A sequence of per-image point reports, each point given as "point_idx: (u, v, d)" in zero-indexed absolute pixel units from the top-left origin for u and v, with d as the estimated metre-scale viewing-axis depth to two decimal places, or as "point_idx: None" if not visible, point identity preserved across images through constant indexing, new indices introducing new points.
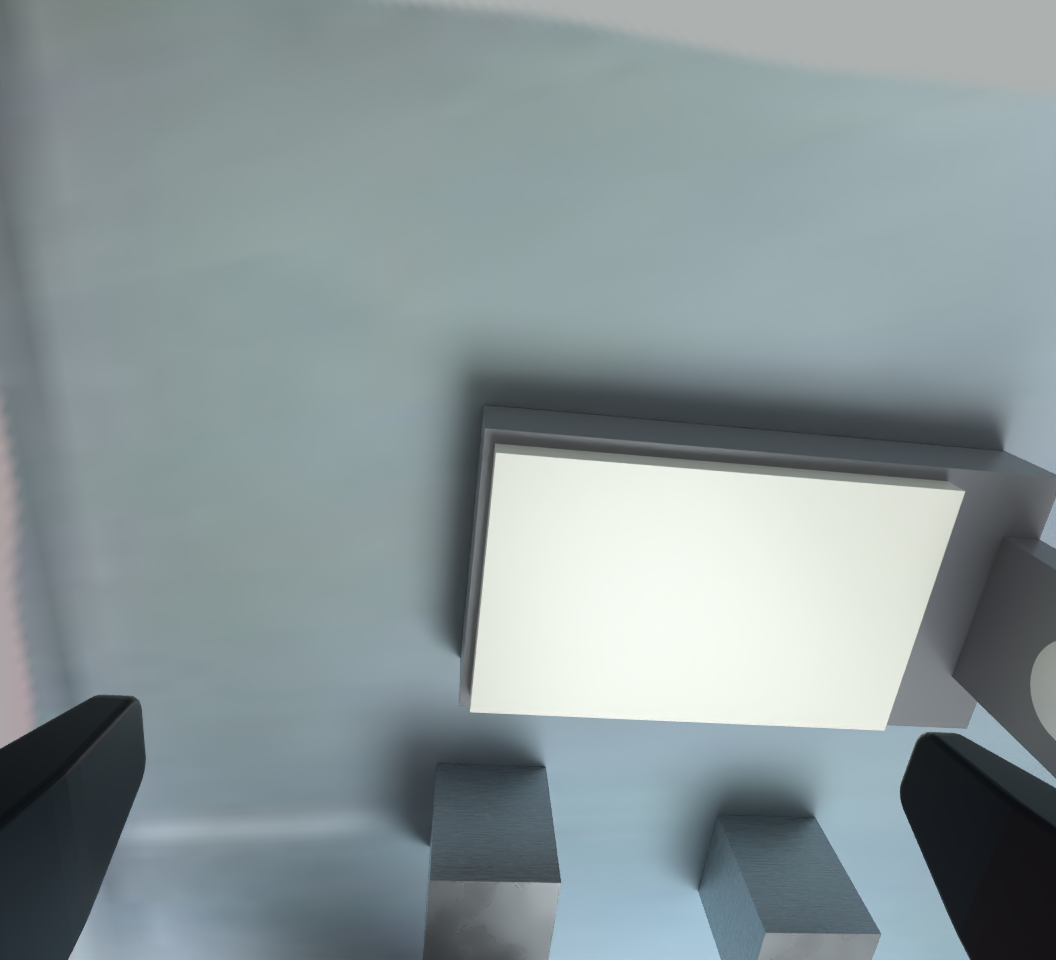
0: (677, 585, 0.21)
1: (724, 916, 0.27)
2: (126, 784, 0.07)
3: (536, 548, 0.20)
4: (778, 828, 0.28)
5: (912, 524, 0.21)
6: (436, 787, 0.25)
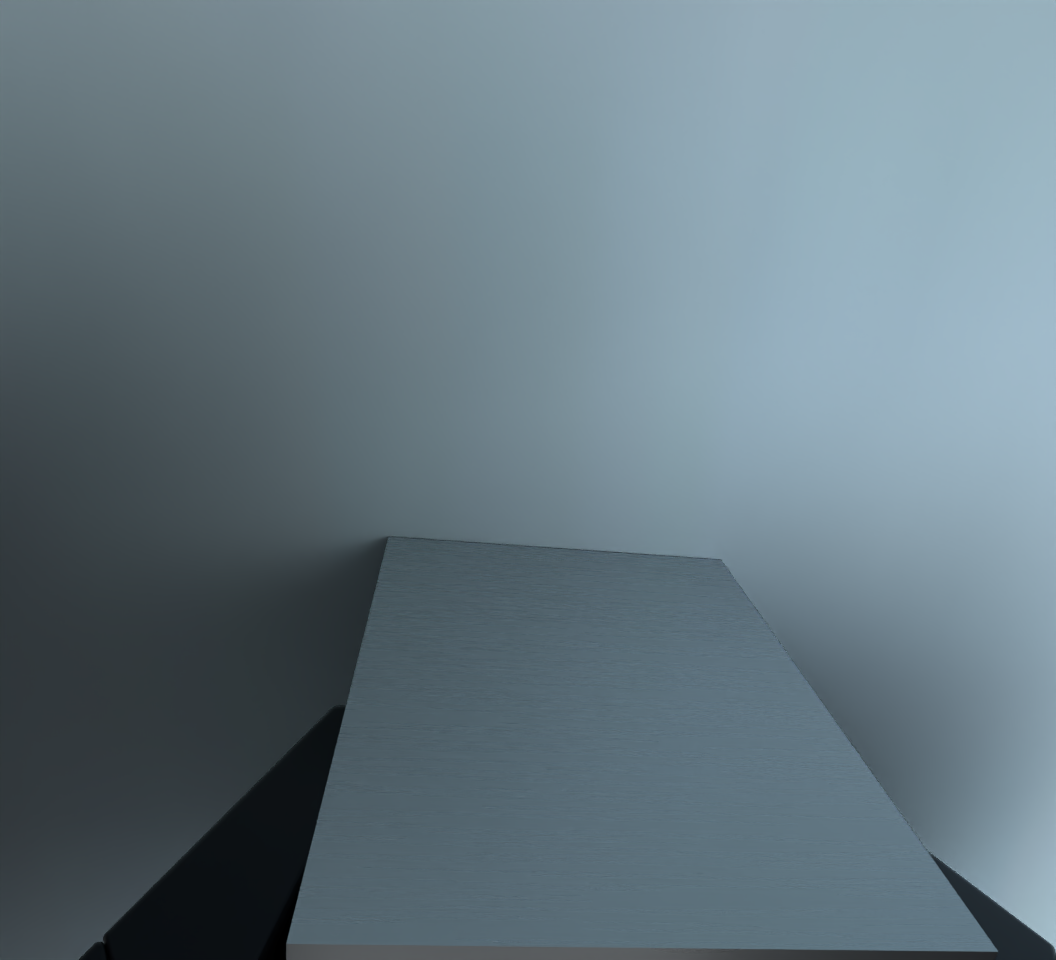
0: None
1: None
2: None
3: None
4: None
5: None
6: None
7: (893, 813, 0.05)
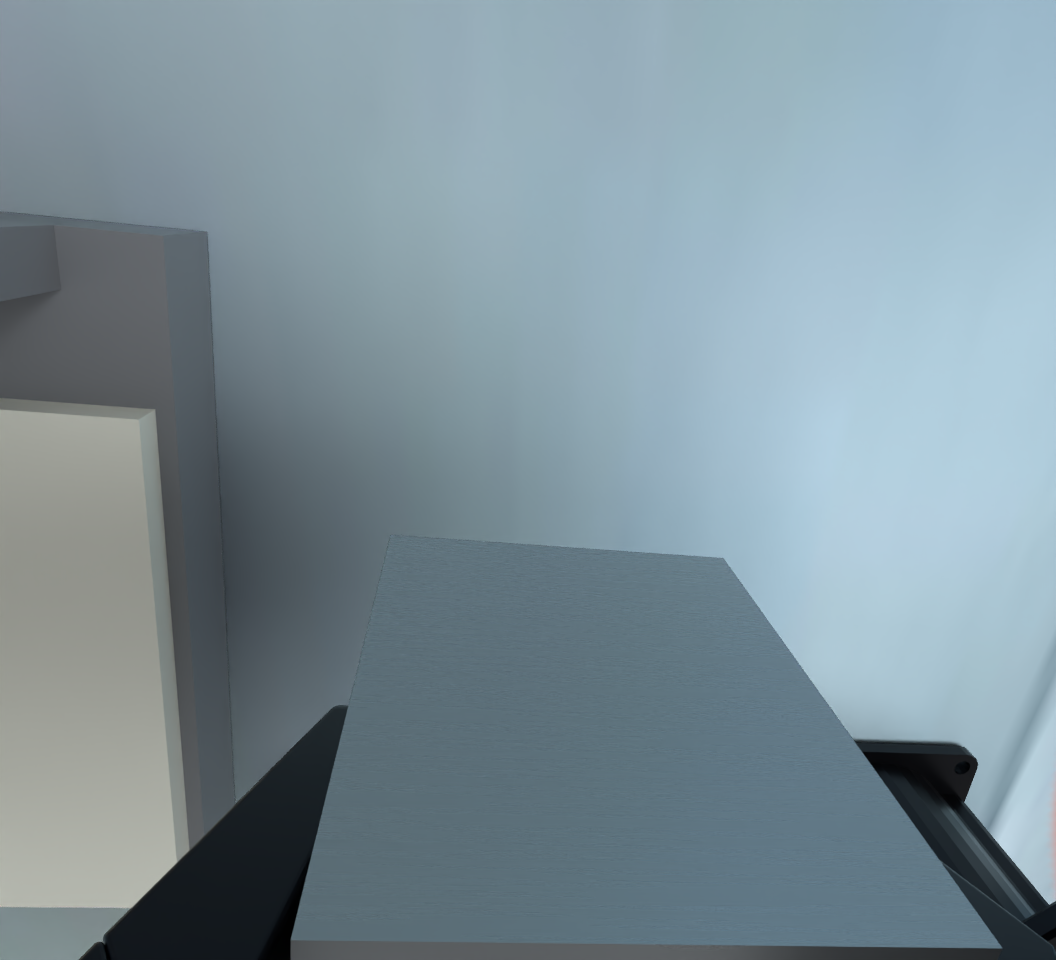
0: None
1: None
2: None
3: None
4: None
5: None
6: None
7: (897, 810, 0.05)
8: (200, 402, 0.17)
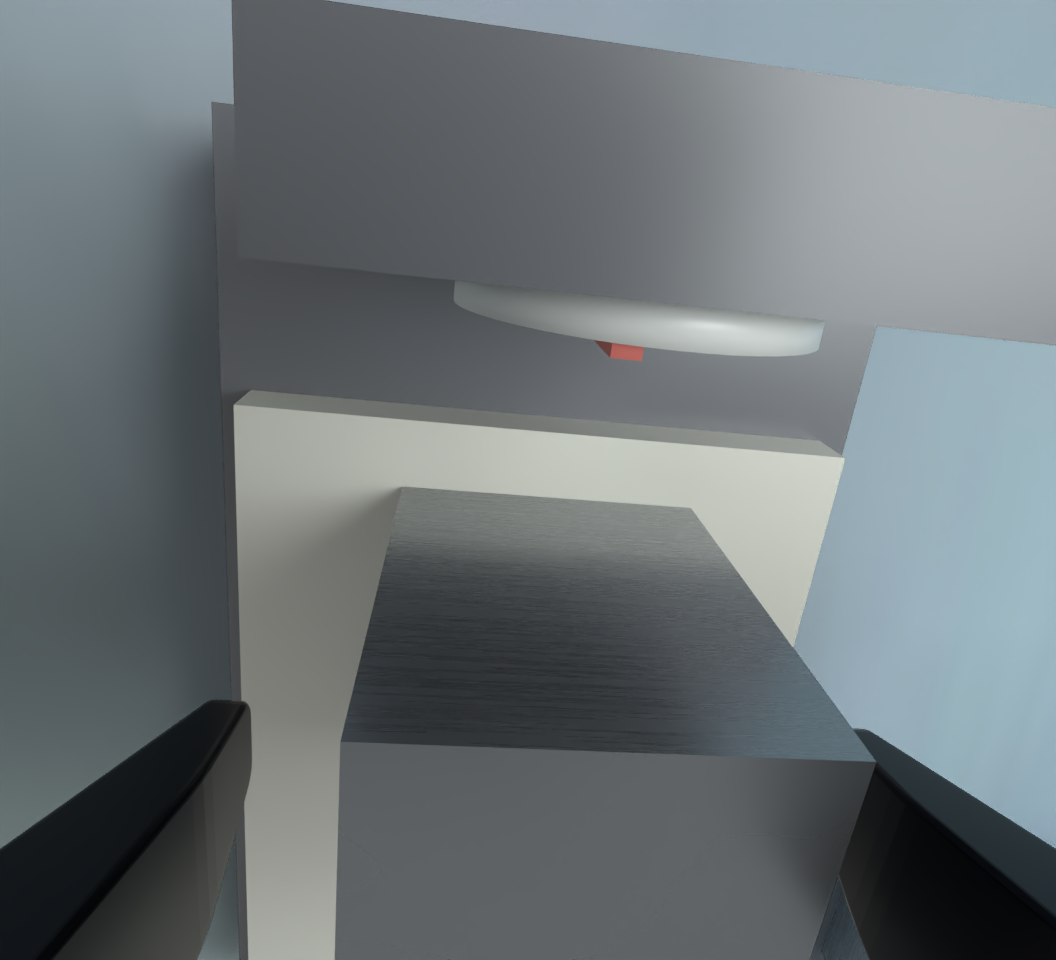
0: None
1: None
2: (240, 788, 0.08)
3: None
4: None
5: (321, 501, 0.10)
6: None
7: (811, 680, 0.07)
8: None
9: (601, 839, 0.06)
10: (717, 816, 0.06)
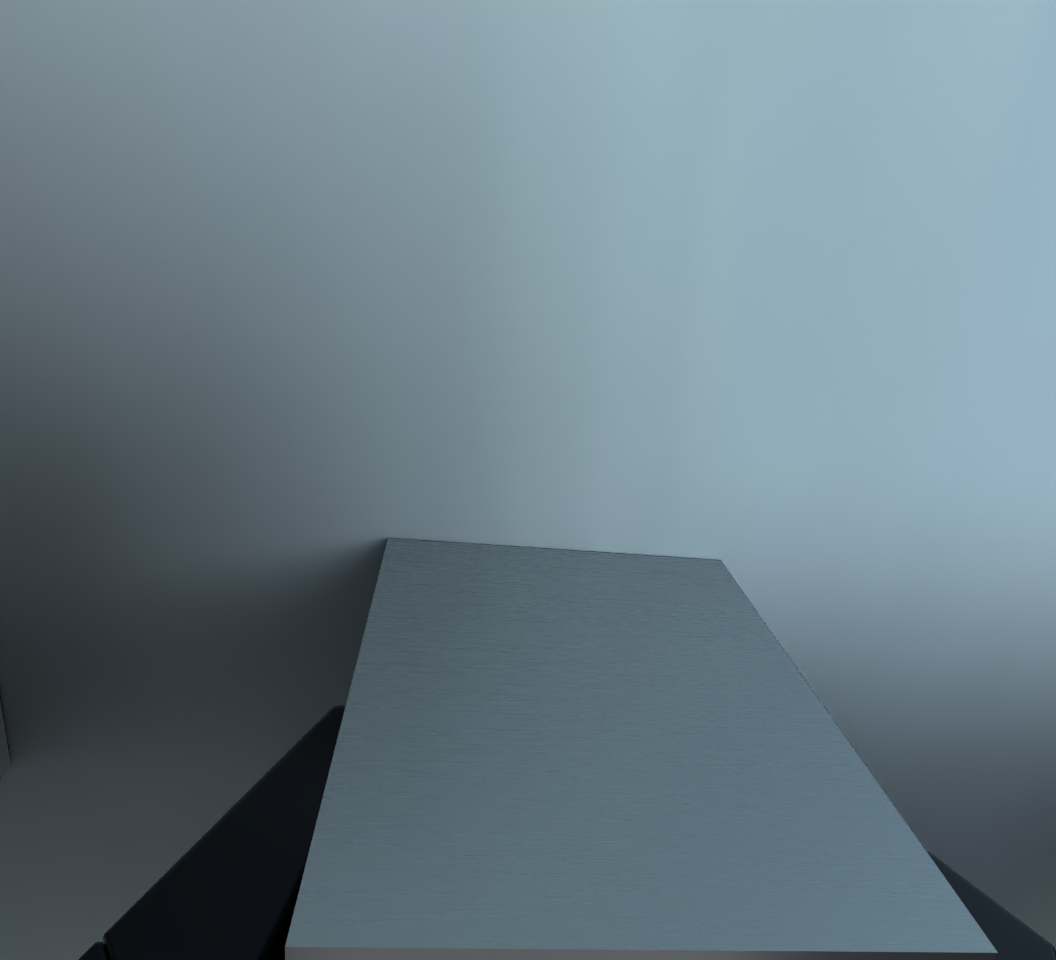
0: None
1: None
2: None
3: None
4: None
5: None
6: None
7: None
8: None
9: None
10: None
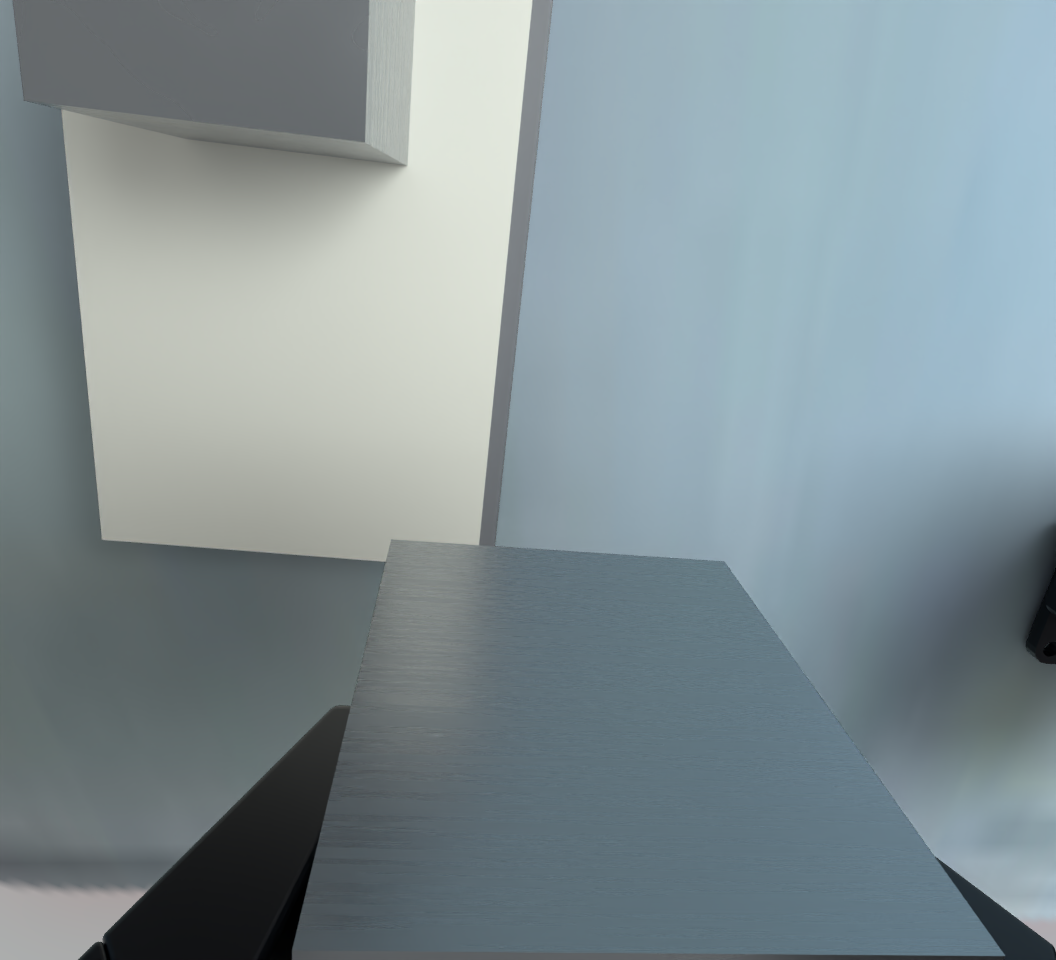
0: (264, 299, 0.14)
1: (293, 145, 0.11)
2: None
3: (225, 491, 0.16)
4: None
5: None
6: None
7: None
8: None
9: None
10: None
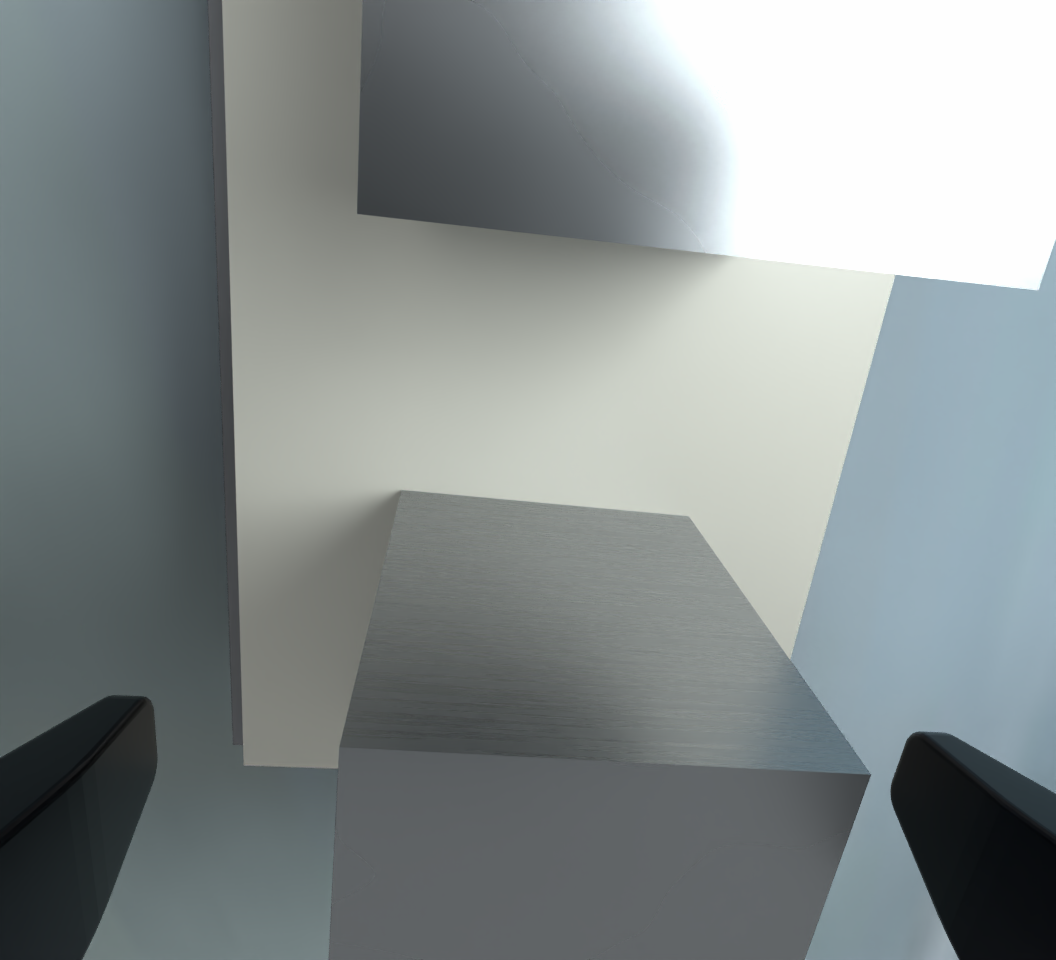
0: (508, 440, 0.10)
1: None
2: (138, 785, 0.08)
3: None
4: None
5: None
6: None
7: None
8: None
9: None
10: None
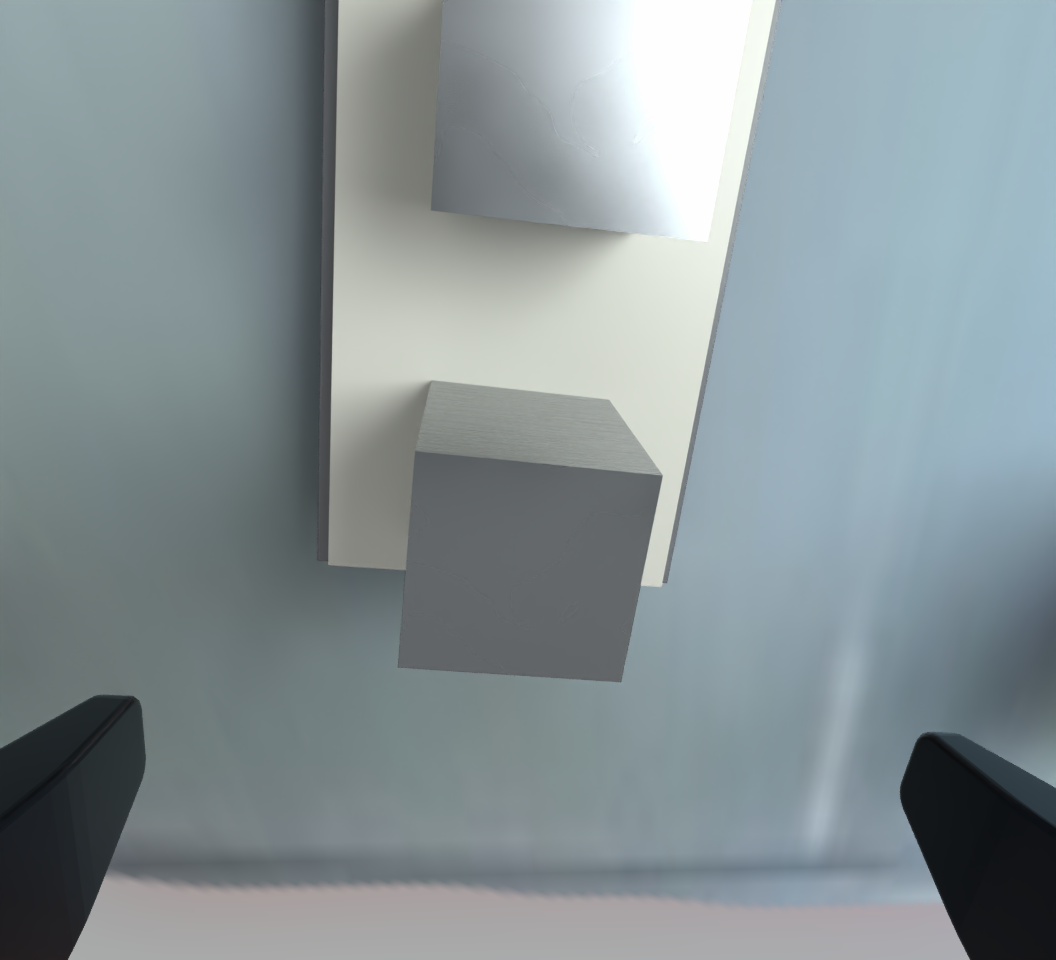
0: (496, 349, 0.16)
1: None
2: (126, 784, 0.07)
3: None
4: None
5: None
6: None
7: None
8: None
9: None
10: None
